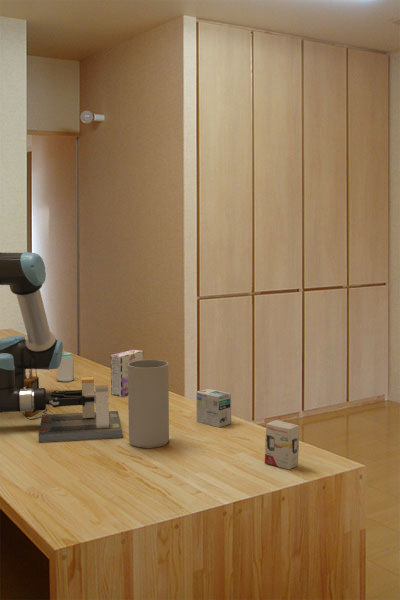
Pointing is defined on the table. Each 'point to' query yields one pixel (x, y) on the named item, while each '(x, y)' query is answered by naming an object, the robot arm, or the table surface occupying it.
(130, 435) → the cylinder vase
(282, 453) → the ink box
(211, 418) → the light bulb box
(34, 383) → the multimeter
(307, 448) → the table surface
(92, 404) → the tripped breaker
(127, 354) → the candy box
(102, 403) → the dual slider panel
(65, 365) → the can
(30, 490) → the table surface
